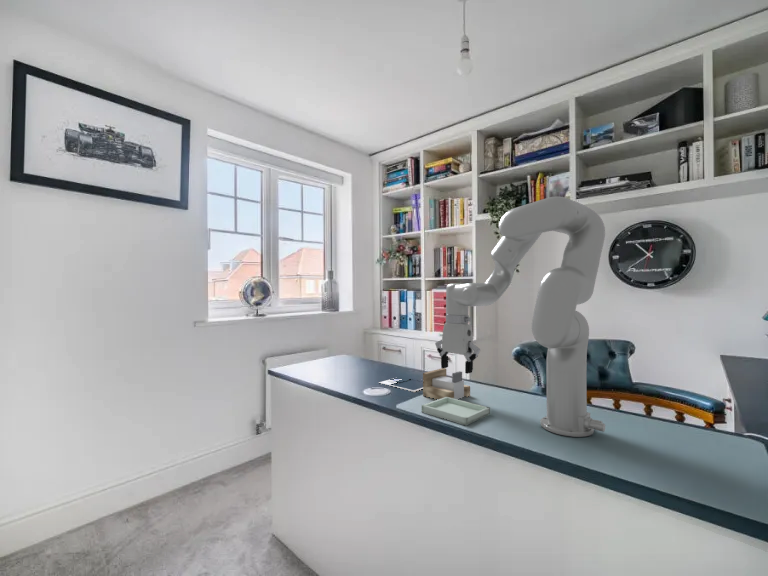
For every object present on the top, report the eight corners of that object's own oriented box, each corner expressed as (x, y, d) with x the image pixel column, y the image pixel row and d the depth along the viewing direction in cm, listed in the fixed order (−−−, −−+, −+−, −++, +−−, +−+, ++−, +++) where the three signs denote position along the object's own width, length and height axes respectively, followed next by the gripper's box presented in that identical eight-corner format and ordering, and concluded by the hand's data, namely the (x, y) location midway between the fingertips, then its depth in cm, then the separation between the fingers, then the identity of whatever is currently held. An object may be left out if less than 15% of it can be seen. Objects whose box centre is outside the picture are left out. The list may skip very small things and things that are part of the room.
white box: (464, 397, 124) (463, 371, 125) (453, 401, 120) (453, 374, 120) (442, 392, 131) (442, 367, 131) (432, 395, 127) (432, 370, 127)
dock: (470, 396, 126) (470, 373, 126) (450, 403, 118) (450, 378, 118) (443, 389, 134) (443, 368, 134) (423, 396, 126) (423, 373, 126)
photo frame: (402, 375, 154) (437, 383, 141) (402, 378, 154) (437, 385, 141) (378, 382, 143) (414, 390, 131) (378, 384, 143) (414, 393, 131)
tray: (489, 414, 107) (489, 407, 107) (466, 425, 98) (466, 418, 98) (446, 402, 118) (446, 396, 118) (421, 411, 110) (421, 405, 110)
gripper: (485, 321, 119) (485, 373, 120) (442, 317, 132) (442, 364, 132) (473, 322, 114) (472, 377, 114) (430, 318, 127) (429, 367, 127)
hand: (456, 370), depth 123 cm, fingers open, 9 cm apart
